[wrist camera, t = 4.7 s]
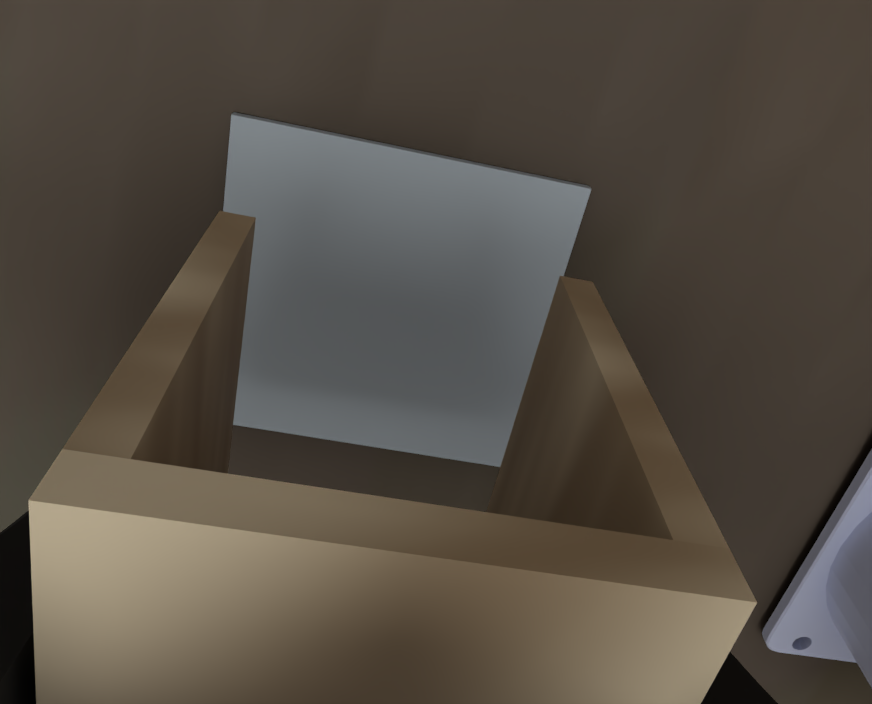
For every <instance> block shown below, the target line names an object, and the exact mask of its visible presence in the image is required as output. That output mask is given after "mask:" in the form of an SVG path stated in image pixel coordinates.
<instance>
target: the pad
mask: <svg viewBox="0 0 872 704" xmlns="http://www.w3.org/2000/svg"><path fill="white" fill-rule="evenodd" d="M590 192H591V187H590V186H588V185H583V184H579V183H574V182H569V181H564V180H559V179H554V178H550V177H545V176H540V175H535V174H530V173H526V172H521V171H516V170H511V169H506V168H501V167H497V166H492V165H487V164H482V163H477V162H472V161H468V160H463V159H458V158H453V157H448V156H444V155H439V154H434V153H429V152H424V151H419V150H415V149H410V148H405V147H400V146H395V145H390V144H386V143H381V142H376V141H371V140H366V139H362V138H357V137H352V136H347V135H342V134H337V133H333V132H328V131H323V130H318V129H313V128H308V127H304V126H299V125H294V124H289V123H284V122H279V121H275V120H270V119H265V118H260V117H255V116H251V115H246V114H241V113H236V112H233V113H232V114H231V125H230V137H229V148H228V160H227V172H226V184H225V195H224V207H223V211H224V212H229V213H234V214H239V215H245V216H250V217H255V218H256V222H255V231H254V240H253V249H252V258H251V267H250V276H249V285H248V294H247V303H246V312H245V321H244V330H243V340H242V349H241V358H240V367H239V376H238V385H237V394H236V403H235V412H234V421H233V425H238V426H244V427H251V428H257V429H263V430H270V431H276V432H282V433H289V434H295V435H301V436H308V437H314V438H320V439H326V440H333V441H339V442H345V443H352V444H358V445H364V446H371V447H377V448H383V449H390V450H396V451H402V452H408V453H415V454H421V455H427V456H434V457H440V458H446V459H453V460H459V461H465V462H472V463H478V464H484V465H490V466H497V467H500V466H501V463H502V460H503V457H504V453H505V450H506V447H507V444H508V441H509V437H510V434H511V431H512V428H513V425H514V421H515V418H516V415H517V412H518V409H519V405H520V402H521V399H522V396H523V393H524V389H525V386H526V383H527V380H528V377H529V373H530V370H531V367H532V364H533V360H534V357H535V354H536V351H537V348H538V344H539V341H540V338H541V335H542V332H543V328H544V325H545V322H546V319H547V316H548V312H549V309H550V306H551V303H552V300H553V296H554V293H555V290H556V287H557V284H558V280H559V277H560V276H564V273H565V270H566V267H567V264H568V261H569V257H570V254H571V251H572V248H573V245H574V242H575V239H576V236H577V232H578V229H579V226H580V223H581V220H582V217H583V214H584V211H585V208H586V204H587V201H588V198H589V195H590Z"/></svg>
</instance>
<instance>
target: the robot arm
mask: <svg viewBox="0 0 872 704" xmlns="http://www.w3.org/2000/svg"><path fill="white" fill-rule="evenodd" d="M762 636H763V639H764V641H765V643H766V645H767V647H768V648H769V649H770V650H772V651H776V652H781V653H788V654H795V655H803V656H810V657H818V658H825V659H833V660H840V661H847V662H855V663H857V664H858V666H859V667H860V669H861V671H862V672H863V674H864V676H865V678H866V679H867V681H868V683H869V684H870V686H871V688H872V449H871V451H870V452H869V454H868V456H867V457H866V459H865V461H864V462H863V464H862V466H861V467H860V469H859V471H858V472H857V474H856V476H855V477H854V479H853V481H852V482H851V484H850V486H849V487H848V489H847V491H846V492H845V494H844V496H843V497H842V499H841V501H840V502H839V504H838V506H837V507H836V509H835V510H834V512H833V514H832V515H831V517H830V519H829V520H828V522H827V524H826V525H825V527H824V529H823V530H822V532H821V534H820V535H819V537H818V539H817V540H816V542H815V544H814V545H813V547H812V549H811V550H810V552H809V554H808V555H807V557H806V559H805V560H804V562H803V564H802V565H801V567H800V569H799V570H798V572H797V574H796V575H795V577H794V579H793V580H792V582H791V584H790V585H789V587H788V589H787V590H786V592H785V594H784V595H783V597H782V599H781V600H780V602H779V604H778V605H777V607H776V609H775V610H774V612H773V614H772V615H771V617H770V618H769V620H768V622H767V623H766V625H765V627H764V628H763V631H762ZM0 704H36V685H35V659H34V633H33V606H32V580H31V553H30V527H29V511H27V512H26V513H25V514H24V515H22V516H21V517H20V518H19V519H17V520H16V521H15V522H14V523H12V524H11V525H10V526H8V527H7V528H6V529H5V530H3V531H2V532H1V533H0ZM701 704H778V703H777V702H776V701H775V700H774V699H773V698H772V697H771V696H770V695H769V694H768V693H767V692H766V691H765V690H764V689H763V688H762V687H761V686H760V685H759V683H758V682H757V681H756V680H755V679H754V678H753V677H752V676H751V675H750V674H749V672H748V671H747V670H746V669H745V668H744V667H743V666H742V665H741V664H740V662H739V661H738V660H737V659H736V658H735V657H734V656H733V655H732V654H731V652H729V654H728V656H727V658H726V659H725V661H724V663H723V665H722V667H721V668H720V670H719V672H718V674H717V675H716V677H715V679H714V681H713V683H712V684H711V686H710V688H709V690H708V692H707V693H706V695H705V697H704V699H703V701H702V702H701Z"/></svg>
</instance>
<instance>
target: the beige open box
mask: <svg viewBox="0 0 872 704" xmlns="http://www.w3.org/2000/svg"><path fill="white" fill-rule="evenodd" d="M255 222H256V218H255V217H250V216H245V215H239V214H234V213H229V212H224V211H219V212H218V214H217V215H216V217H215V218H214V220H213V221H212V223H211V224H210V226H209V227H208V229H207V230H206V232H205V233H204V235H203V236H202V238H201V239H200V241H199V243H198V244H197V246H196V247H195V249H194V250H193V252H192V253H191V255H190V256H189V258H188V259H187V261H186V262H185V264H184V265H183V267H182V268H181V270H180V271H179V273H178V274H177V276H176V277H175V279H174V280H173V282H172V283H171V285H170V286H169V288H168V290H167V291H166V293H165V294H164V296H163V297H162V299H161V300H160V302H159V303H158V305H157V306H156V308H155V309H154V311H153V312H152V314H151V315H150V317H149V318H148V320H147V321H146V323H145V324H144V326H143V327H142V329H141V330H140V332H139V333H138V335H137V337H136V338H135V340H134V341H133V343H132V344H131V346H130V347H129V349H128V350H127V352H126V353H125V355H124V356H123V358H122V359H121V361H120V362H119V364H118V365H117V367H116V368H115V370H114V371H113V373H112V374H111V376H110V377H109V379H108V380H107V382H106V384H105V385H104V387H103V388H102V390H101V391H100V393H99V394H98V396H97V397H96V399H95V400H94V402H93V403H92V405H91V406H90V408H89V409H88V411H87V412H86V414H85V415H84V417H83V418H82V420H81V421H80V423H79V424H78V426H77V427H76V429H75V431H74V432H73V434H72V435H71V437H70V438H69V440H68V441H67V443H66V444H65V446H64V447H63V449H62V450H61V452H60V453H59V455H58V456H57V458H56V459H55V461H54V462H53V464H52V465H51V467H50V468H49V470H48V471H47V473H46V474H45V476H44V477H43V479H42V481H41V482H40V484H39V485H38V487H37V488H36V490H35V491H34V493H33V494H32V496H31V497H30V499H29V500H28V501H29V527H30V553H31V580H32V606H33V633H34V659H35V685H36V704H701V702H702V701H703V699H704V697H705V695H706V693H707V692H708V690H709V688H710V686H711V684H712V683H713V681H714V679H715V677H716V675H717V674H718V672H719V670H720V668H721V667H722V665H723V663H724V661H725V659H726V658H727V656H728V654H729V652H730V650H731V649H732V647H733V645H734V643H735V641H736V640H737V638H738V636H739V634H740V632H741V631H742V629H743V627H744V625H745V623H746V622H747V620H748V618H749V616H750V615H751V613H752V611H753V609H754V607H755V606H756V604H757V601H756V599H755V597H754V596H753V594H752V592H751V590H750V588H749V586H748V584H747V582H746V580H745V578H744V576H743V574H742V572H741V570H740V568H739V566H738V564H737V562H736V560H735V558H734V557H733V555H732V553H731V551H730V549H729V547H728V545H727V543H726V541H725V539H724V537H723V535H722V533H721V531H720V529H719V527H718V525H717V523H716V521H715V519H714V518H713V516H712V514H711V512H710V510H709V508H708V506H707V504H706V502H705V500H704V498H703V496H702V494H701V492H700V490H699V488H698V486H697V484H696V482H695V480H694V479H693V477H692V475H691V473H690V471H689V469H688V467H687V465H686V463H685V461H684V459H683V457H682V455H681V453H680V451H679V449H678V447H677V445H676V443H675V441H674V440H673V438H672V436H671V434H670V432H669V430H668V428H667V426H666V424H665V422H664V420H663V418H662V416H661V414H660V412H659V410H658V408H657V406H656V404H655V402H654V401H653V399H652V397H651V395H650V393H649V391H648V389H647V387H646V385H645V383H644V381H643V379H642V377H641V375H640V373H639V371H638V369H637V367H636V365H635V363H634V362H633V360H632V358H631V356H630V354H629V352H628V350H627V348H626V346H625V344H624V342H623V340H622V338H621V336H620V334H619V332H618V330H617V328H616V326H615V324H614V323H613V321H612V319H611V317H610V315H609V313H608V311H607V309H606V307H605V305H604V303H603V301H602V299H601V297H600V295H599V293H598V291H597V289H596V287H595V286H594V284H593V282H591V281H585V280H580V279H575V278H570V277H564V276H560V277H559V280H558V284H557V287H556V290H555V293H554V296H553V300H552V303H551V306H550V309H549V312H548V316H547V319H546V322H545V325H544V328H543V332H542V335H541V338H540V341H539V344H538V348H537V351H536V354H535V357H534V360H533V364H532V367H531V370H530V373H529V377H528V380H527V383H526V386H525V389H524V393H523V396H522V399H521V402H520V405H519V409H518V412H517V415H516V418H515V421H514V425H513V428H512V431H511V434H510V437H509V441H508V444H507V447H506V450H505V453H504V457H503V460H502V463H501V466H500V469H499V473H498V476H497V479H496V482H495V486H494V489H493V492H492V495H491V498H490V502H489V505H488V508H487V511H486V512H481V511H475V510H468V509H461V508H455V507H448V506H441V505H435V504H428V503H421V502H414V501H408V500H401V499H394V498H388V497H381V496H374V495H367V494H361V493H354V492H347V491H341V490H334V489H327V488H321V487H314V486H307V485H300V484H294V483H287V482H280V481H274V480H267V479H260V478H254V477H247V476H240V475H233V474H228V466H229V457H230V448H231V439H232V430H233V421H234V412H235V403H236V394H237V385H238V376H239V367H240V358H241V349H242V340H243V330H244V321H245V312H246V303H247V294H248V285H249V276H250V267H251V258H252V249H253V240H254V231H255Z"/></svg>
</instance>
